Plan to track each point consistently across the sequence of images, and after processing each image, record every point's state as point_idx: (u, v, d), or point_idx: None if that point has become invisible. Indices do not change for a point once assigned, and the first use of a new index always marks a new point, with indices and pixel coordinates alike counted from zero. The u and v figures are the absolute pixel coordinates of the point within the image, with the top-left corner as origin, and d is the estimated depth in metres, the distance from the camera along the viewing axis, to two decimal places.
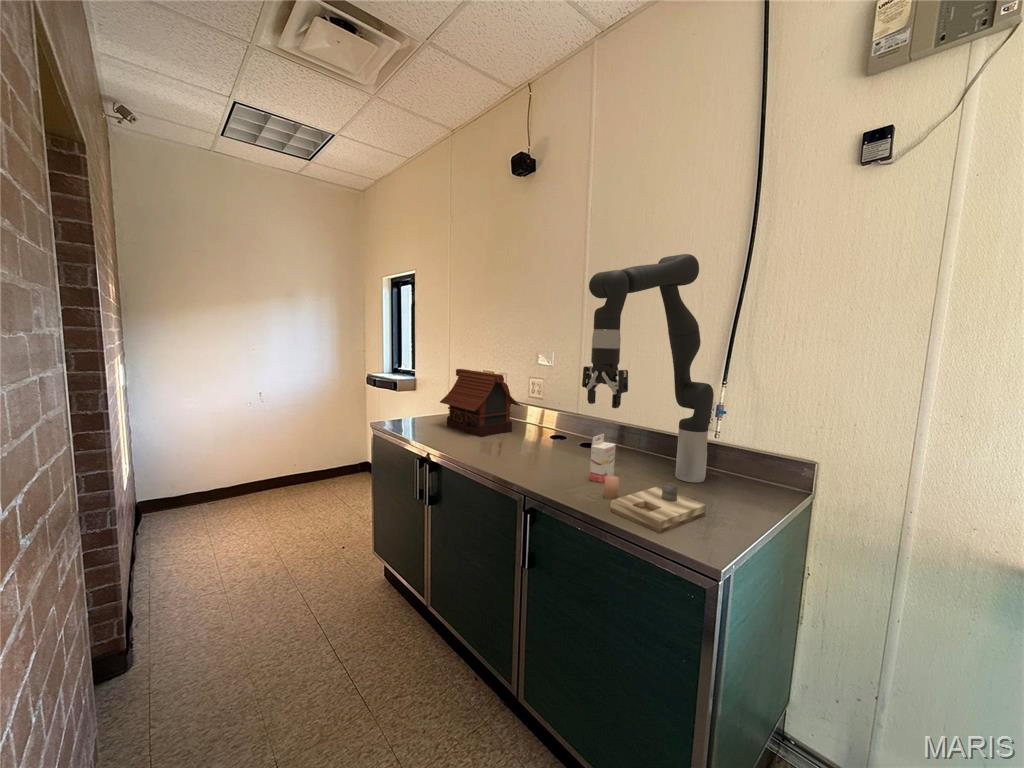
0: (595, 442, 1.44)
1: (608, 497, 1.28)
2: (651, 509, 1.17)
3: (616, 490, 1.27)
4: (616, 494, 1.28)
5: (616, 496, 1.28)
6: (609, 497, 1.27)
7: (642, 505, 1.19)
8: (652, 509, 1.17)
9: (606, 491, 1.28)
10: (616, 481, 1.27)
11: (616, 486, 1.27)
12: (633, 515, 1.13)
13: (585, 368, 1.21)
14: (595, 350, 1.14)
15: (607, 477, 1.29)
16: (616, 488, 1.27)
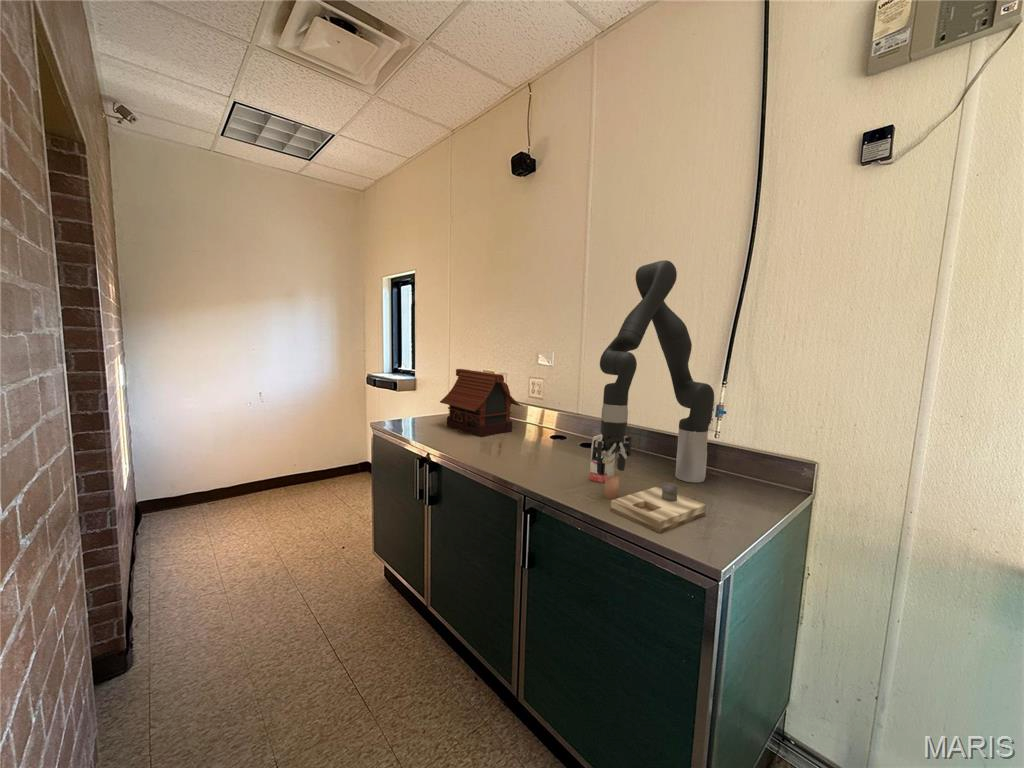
0: None
1: (608, 497, 1.28)
2: (651, 509, 1.17)
3: (616, 490, 1.27)
4: (616, 494, 1.28)
5: (616, 496, 1.28)
6: (609, 497, 1.27)
7: (642, 505, 1.19)
8: (652, 509, 1.17)
9: (606, 491, 1.28)
10: (616, 481, 1.27)
11: (616, 486, 1.27)
12: (633, 515, 1.13)
13: (601, 442, 1.23)
14: (623, 424, 1.24)
15: (607, 477, 1.29)
16: (616, 488, 1.27)
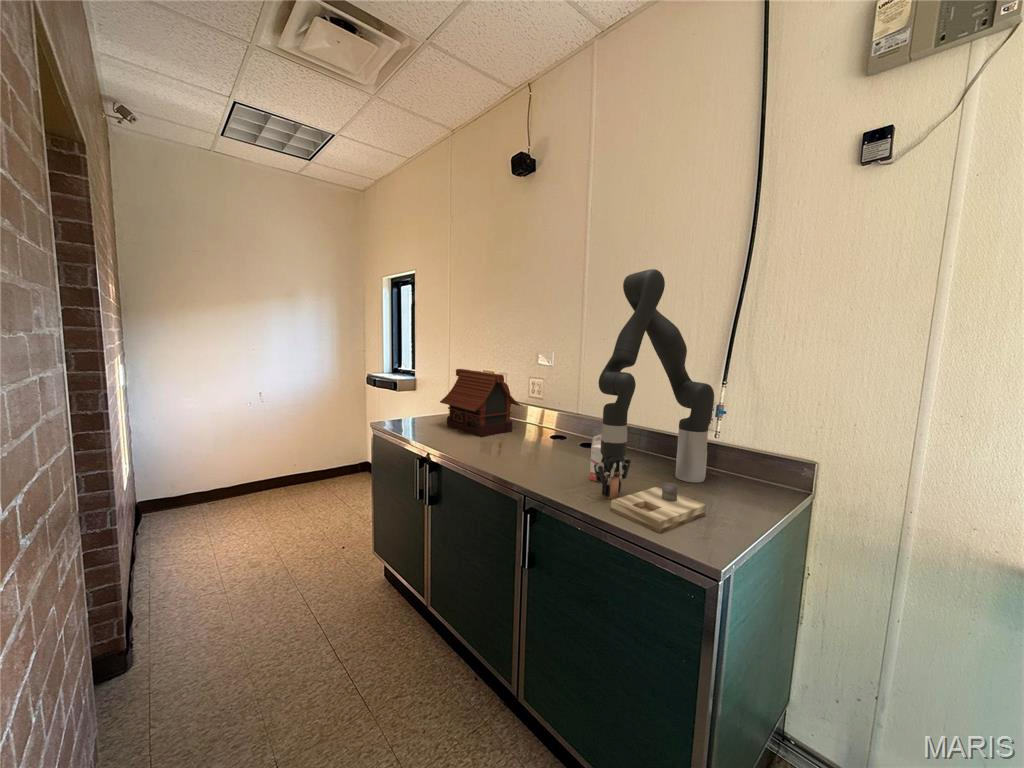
0: (595, 442, 1.44)
1: (608, 497, 1.28)
2: (651, 509, 1.17)
3: (616, 490, 1.27)
4: (616, 494, 1.28)
5: (616, 495, 1.28)
6: (609, 497, 1.27)
7: (642, 505, 1.19)
8: (652, 509, 1.17)
9: None
10: (616, 481, 1.27)
11: (616, 486, 1.27)
12: (633, 515, 1.13)
13: (602, 467, 1.24)
14: (622, 445, 1.24)
15: None
16: (616, 488, 1.27)
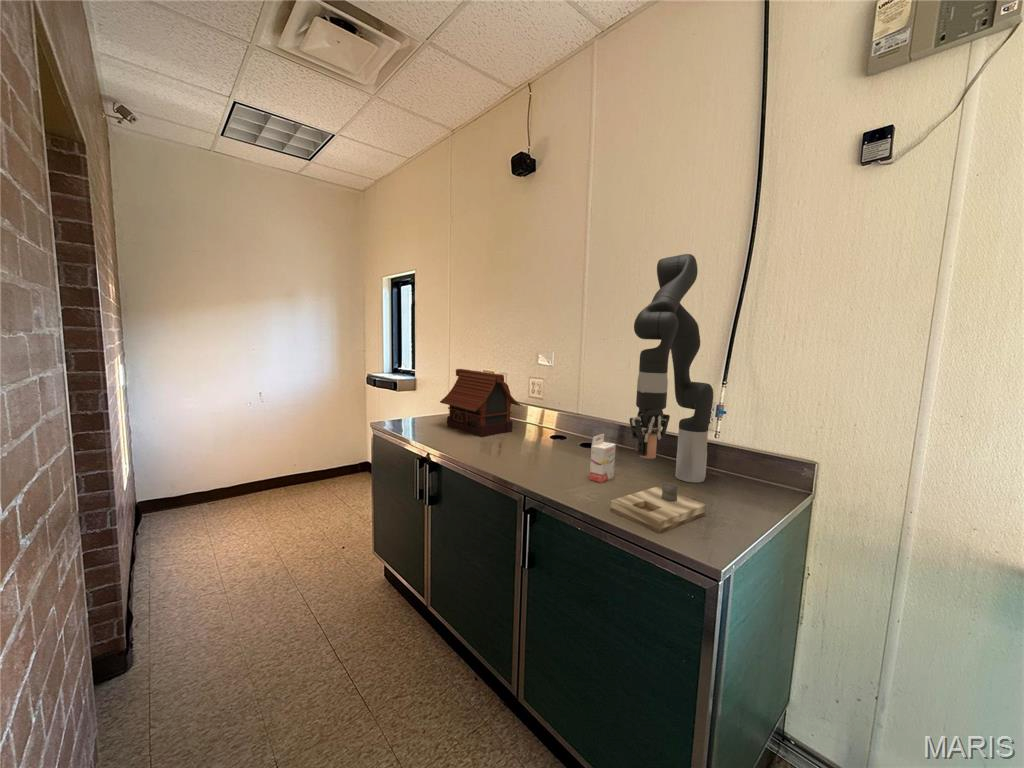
0: (595, 442, 1.44)
1: (645, 456, 1.12)
2: (651, 509, 1.17)
3: (654, 448, 1.12)
4: (654, 453, 1.12)
5: (654, 454, 1.12)
6: (646, 456, 1.12)
7: (642, 505, 1.19)
8: (652, 509, 1.17)
9: None
10: (654, 438, 1.11)
11: (654, 443, 1.12)
12: (633, 515, 1.13)
13: (639, 420, 1.08)
14: (663, 395, 1.09)
15: (643, 434, 1.13)
16: (654, 446, 1.12)
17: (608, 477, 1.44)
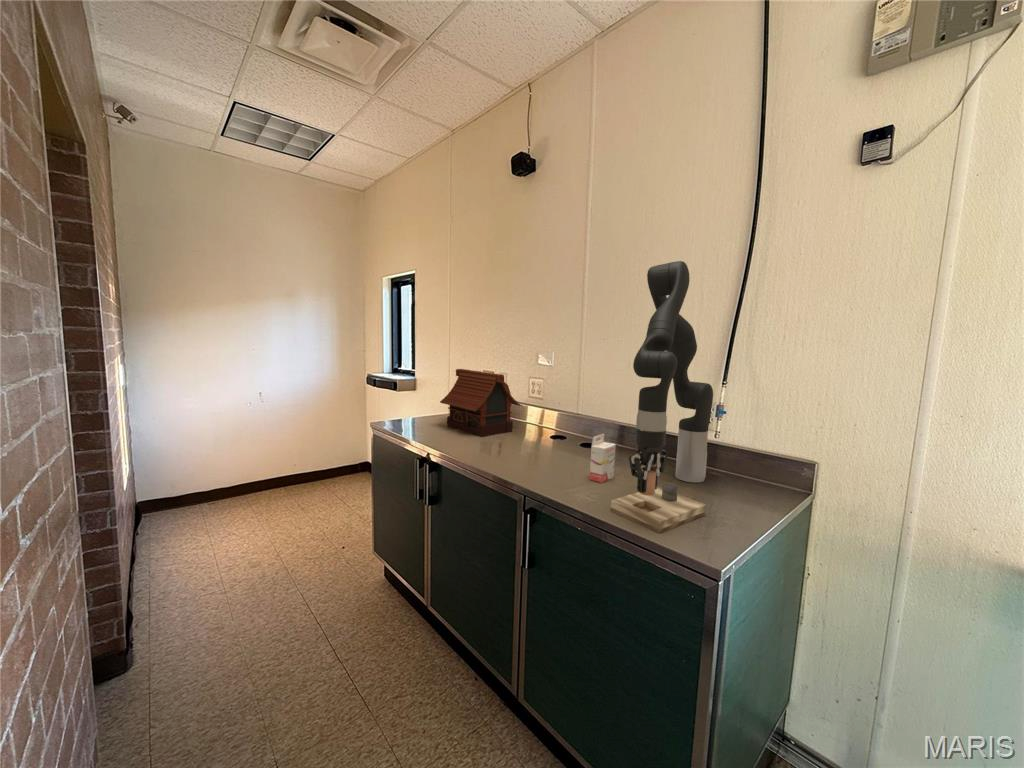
0: (595, 442, 1.44)
1: (644, 493, 1.13)
2: (651, 509, 1.17)
3: (653, 485, 1.13)
4: (653, 490, 1.13)
5: (653, 491, 1.13)
6: (645, 493, 1.13)
7: (642, 505, 1.19)
8: (652, 509, 1.17)
9: None
10: (653, 475, 1.12)
11: (653, 481, 1.13)
12: (633, 515, 1.13)
13: (638, 458, 1.09)
14: (662, 434, 1.09)
15: (643, 470, 1.14)
16: (653, 483, 1.13)
17: (608, 477, 1.44)
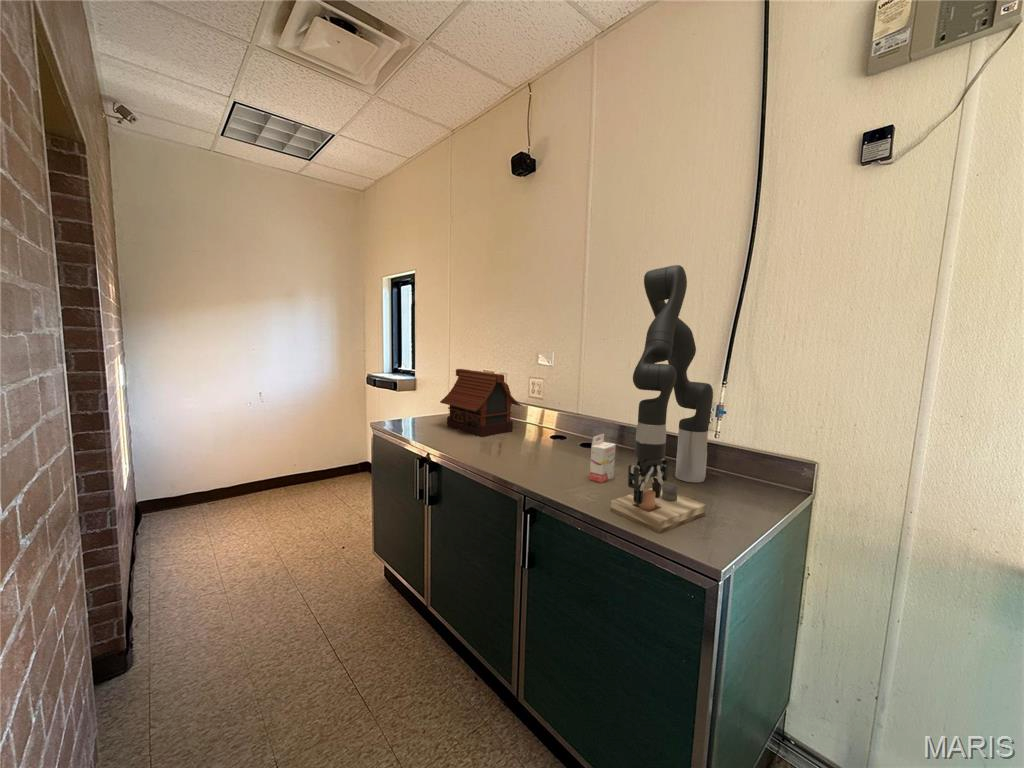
0: (595, 442, 1.44)
1: None
2: None
3: (653, 506, 1.13)
4: (653, 510, 1.14)
5: None
6: None
7: None
8: None
9: (641, 507, 1.14)
10: (653, 496, 1.13)
11: (653, 501, 1.13)
12: (633, 515, 1.13)
13: (638, 468, 1.09)
14: (661, 446, 1.10)
15: None
16: (653, 504, 1.13)
17: (608, 477, 1.44)
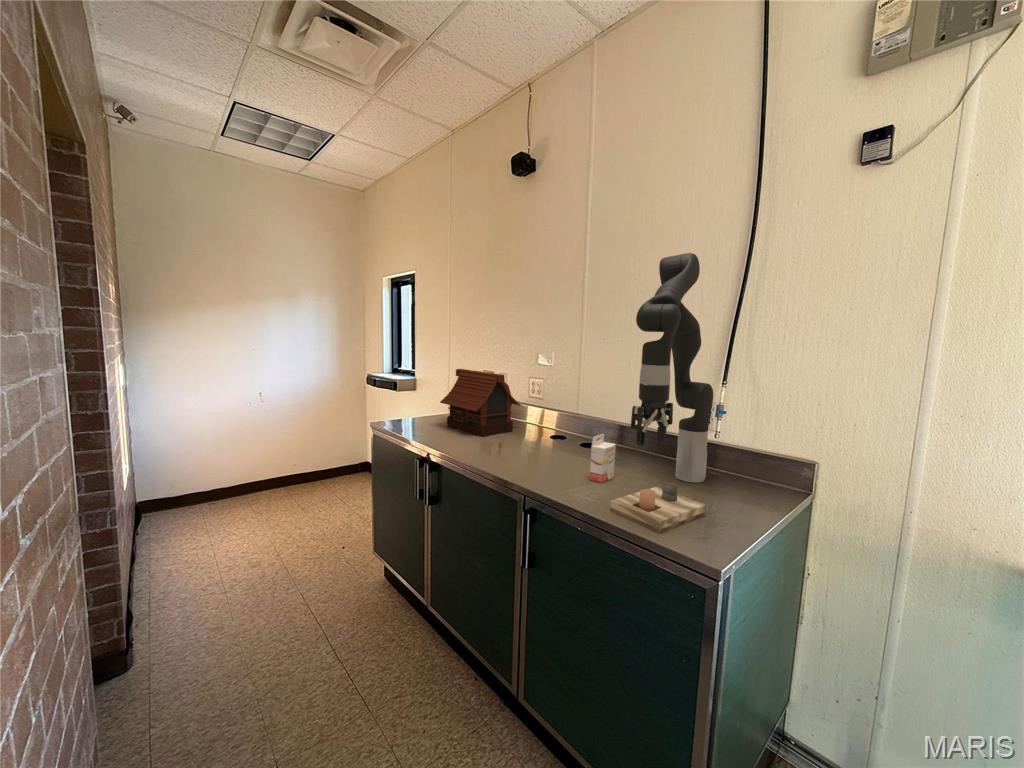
0: (595, 442, 1.44)
1: None
2: None
3: (653, 506, 1.13)
4: (653, 510, 1.14)
5: None
6: None
7: None
8: None
9: (641, 507, 1.14)
10: (653, 496, 1.13)
11: (653, 501, 1.13)
12: (633, 515, 1.13)
13: (642, 408, 1.08)
14: (666, 387, 1.08)
15: (642, 491, 1.15)
16: (653, 504, 1.13)
17: (608, 477, 1.44)
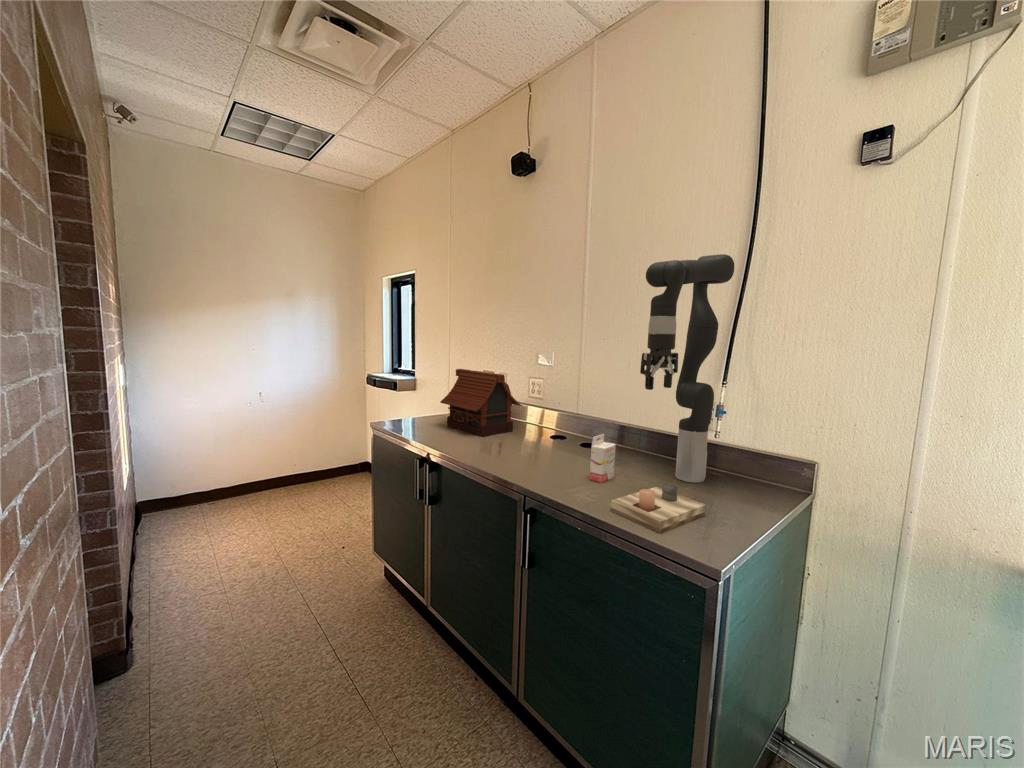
0: (595, 442, 1.44)
1: None
2: None
3: (653, 506, 1.13)
4: (653, 510, 1.14)
5: None
6: None
7: None
8: None
9: (641, 507, 1.14)
10: (653, 496, 1.13)
11: (653, 501, 1.13)
12: (633, 515, 1.13)
13: (651, 354, 1.20)
14: (672, 336, 1.20)
15: (642, 491, 1.15)
16: (653, 504, 1.13)
17: (608, 477, 1.44)
